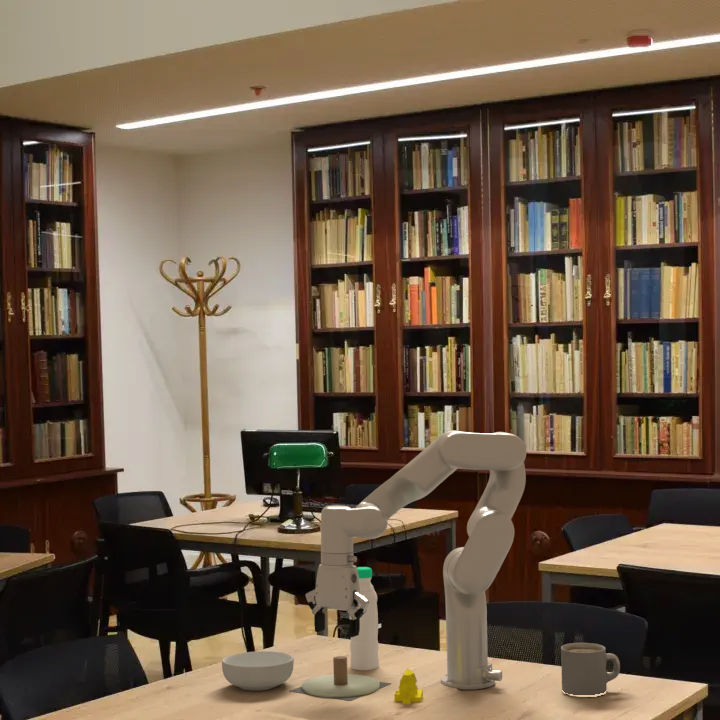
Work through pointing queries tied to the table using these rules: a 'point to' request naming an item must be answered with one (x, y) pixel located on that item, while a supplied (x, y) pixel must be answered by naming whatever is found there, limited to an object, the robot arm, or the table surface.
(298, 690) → the mat
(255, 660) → the cereal bowl
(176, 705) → the table surface
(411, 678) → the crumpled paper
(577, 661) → the coffee mug
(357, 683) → the lid
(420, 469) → the robot arm
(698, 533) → the table surface
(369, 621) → the water bottle
